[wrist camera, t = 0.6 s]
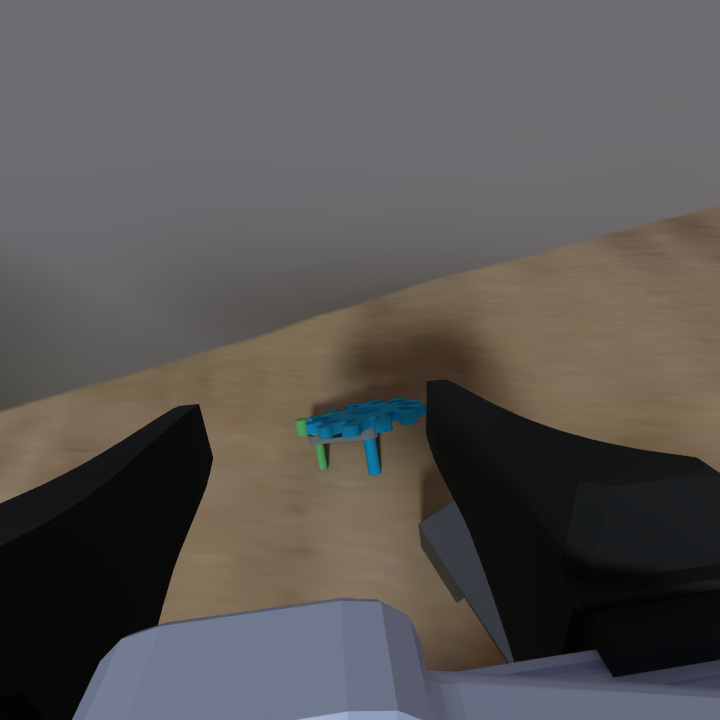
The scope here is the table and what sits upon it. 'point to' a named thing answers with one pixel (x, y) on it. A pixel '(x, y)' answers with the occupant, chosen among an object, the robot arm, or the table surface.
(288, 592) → the table surface
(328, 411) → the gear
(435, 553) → the housing
